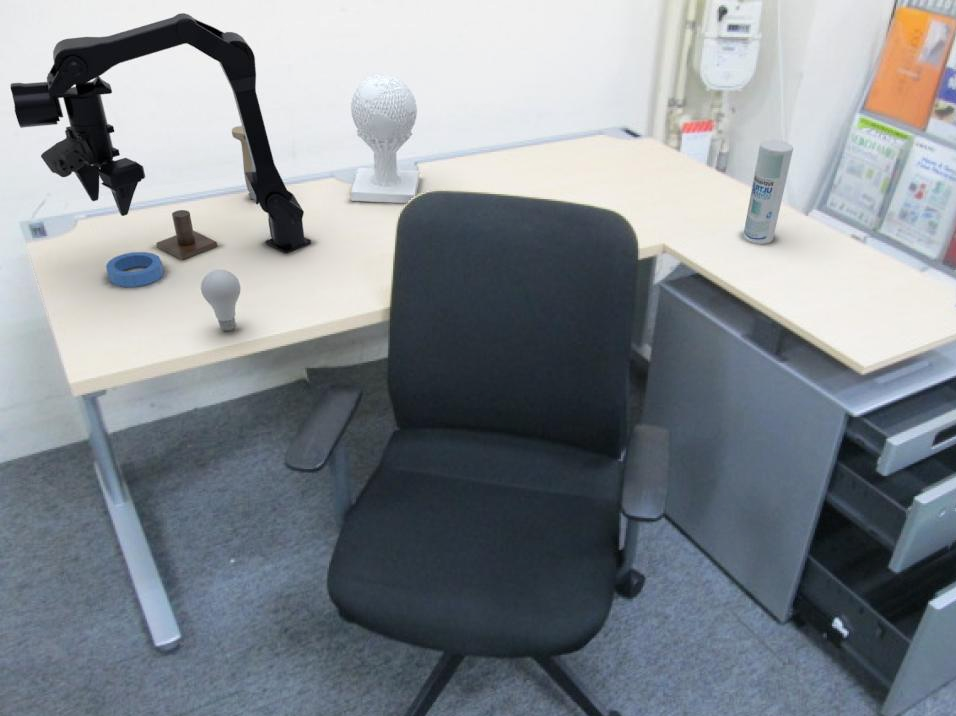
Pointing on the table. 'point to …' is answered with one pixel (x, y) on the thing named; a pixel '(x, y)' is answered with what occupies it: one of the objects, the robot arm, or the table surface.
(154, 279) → the tape
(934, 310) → the table surface
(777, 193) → the spray can
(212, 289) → the lightbulb
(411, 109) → the trophy
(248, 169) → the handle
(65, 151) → the robot arm
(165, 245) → the peg stand
